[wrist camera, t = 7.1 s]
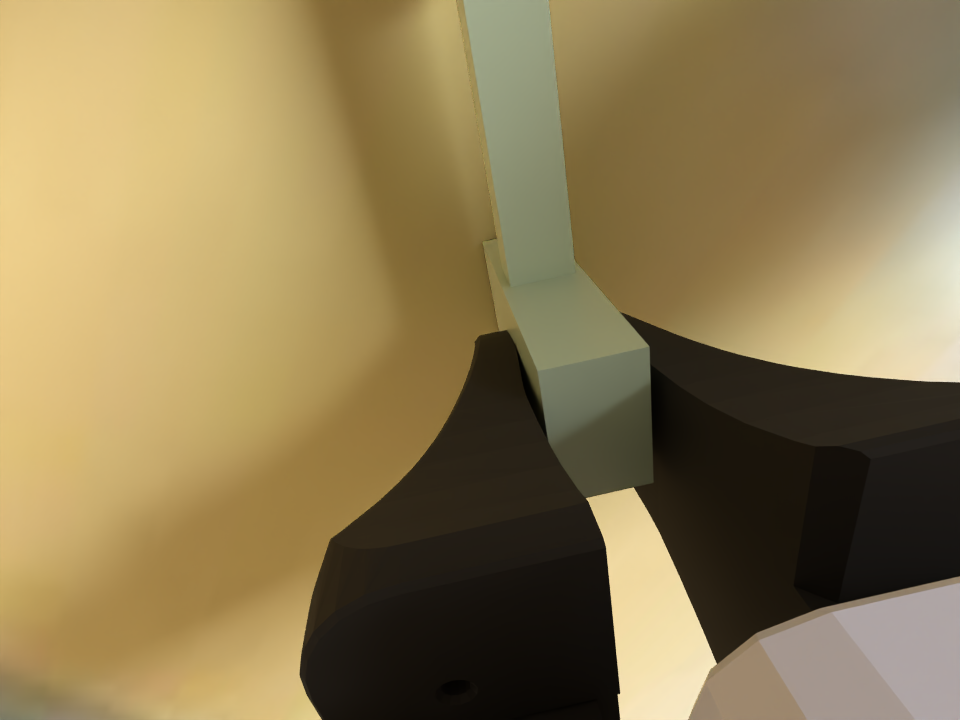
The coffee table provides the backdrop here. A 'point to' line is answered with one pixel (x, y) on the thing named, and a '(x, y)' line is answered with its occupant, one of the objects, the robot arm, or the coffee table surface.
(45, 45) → the coffee table surface
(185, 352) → the coffee table surface
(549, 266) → the pale green mallet
